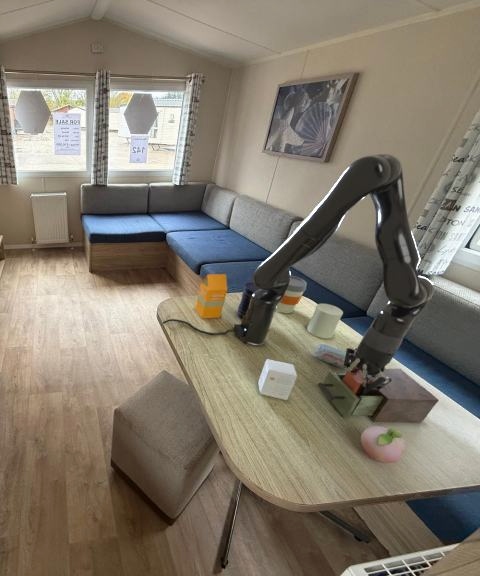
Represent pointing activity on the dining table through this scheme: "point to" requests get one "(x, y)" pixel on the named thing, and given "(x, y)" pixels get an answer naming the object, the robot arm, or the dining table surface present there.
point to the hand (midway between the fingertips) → (353, 387)
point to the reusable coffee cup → (292, 295)
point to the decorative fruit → (383, 444)
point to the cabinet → (403, 399)
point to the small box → (277, 379)
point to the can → (324, 320)
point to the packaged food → (331, 355)
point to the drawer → (349, 397)
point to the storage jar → (246, 299)
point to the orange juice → (212, 296)
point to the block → (353, 380)
